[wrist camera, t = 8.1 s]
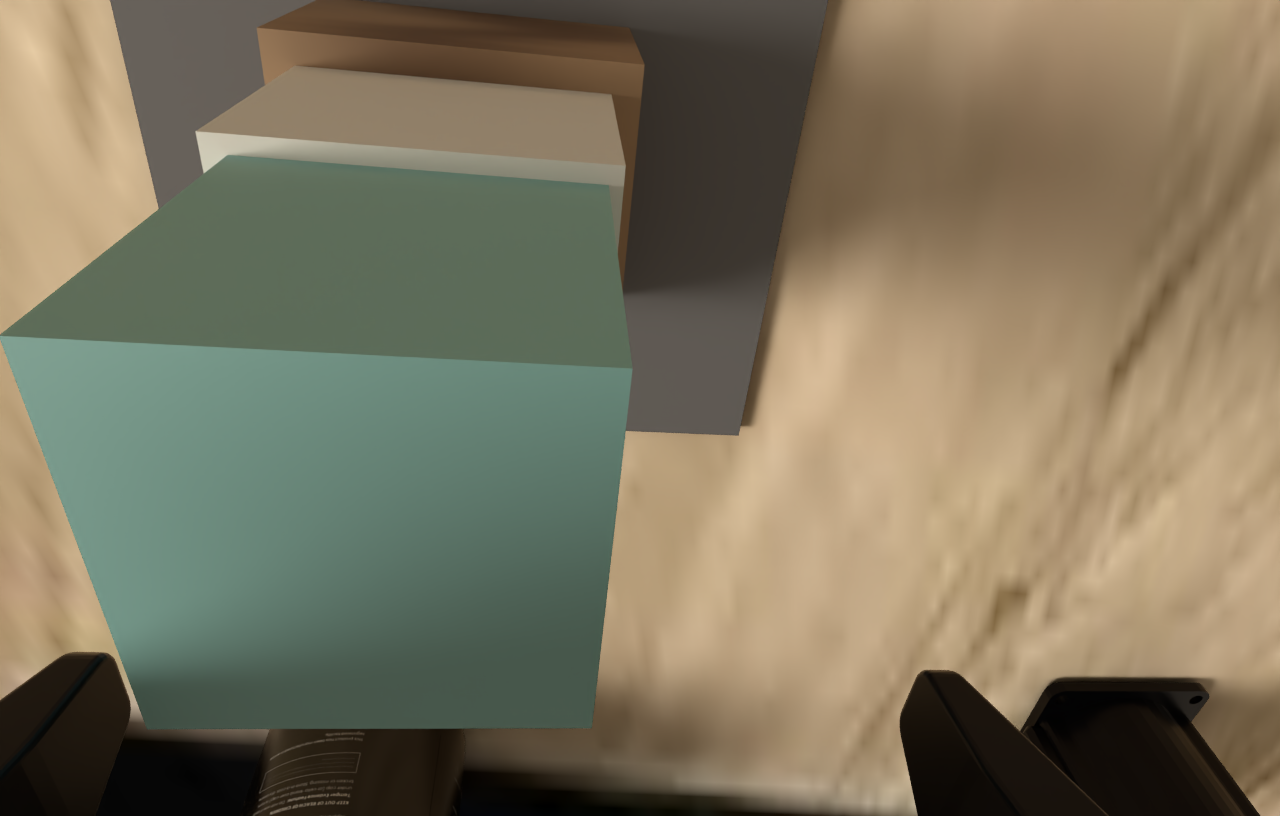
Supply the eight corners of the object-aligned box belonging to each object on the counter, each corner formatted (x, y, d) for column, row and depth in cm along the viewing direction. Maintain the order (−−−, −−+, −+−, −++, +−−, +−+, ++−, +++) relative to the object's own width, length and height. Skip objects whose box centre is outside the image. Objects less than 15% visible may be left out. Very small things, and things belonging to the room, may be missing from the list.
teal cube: (608, 185, 10) (632, 367, 6) (585, 471, 12) (591, 728, 9) (228, 154, 9) (-2, 337, 6) (281, 460, 12) (147, 729, 8)
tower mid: (611, 94, 13) (625, 165, 10) (590, 358, 16) (596, 483, 12) (294, 65, 13) (195, 132, 9) (330, 344, 15) (262, 473, 12)
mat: (860, -188, 15) (867, -190, 15) (736, 427, 22) (738, 435, 22) (52, -300, 13) (39, -305, 13) (212, 405, 21) (206, 413, 20)
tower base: (629, 27, 16) (644, 65, 13) (606, 295, 19) (613, 380, 16) (324, -3, 16) (256, 27, 12) (352, 280, 19) (306, 365, 15)
